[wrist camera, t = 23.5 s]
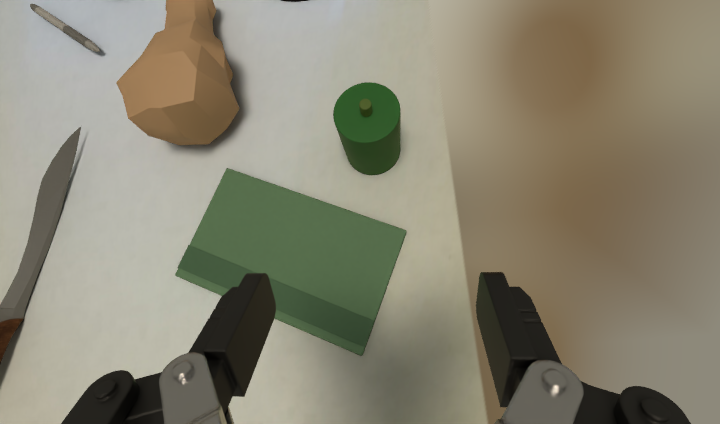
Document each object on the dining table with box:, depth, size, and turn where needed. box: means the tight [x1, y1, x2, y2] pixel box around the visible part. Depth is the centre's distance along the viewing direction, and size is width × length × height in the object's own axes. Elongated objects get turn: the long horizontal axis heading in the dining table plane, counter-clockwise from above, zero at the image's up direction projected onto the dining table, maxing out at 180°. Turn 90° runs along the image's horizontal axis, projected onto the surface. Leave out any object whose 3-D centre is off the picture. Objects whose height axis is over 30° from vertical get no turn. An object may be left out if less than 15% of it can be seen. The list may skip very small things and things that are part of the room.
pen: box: [30, 4, 100, 52], centre depth 44 cm, size 1×14×1 cm, turn 55°
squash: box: [116, 0, 239, 145], centre depth 37 cm, size 11×20×9 cm, turn 11°
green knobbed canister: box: [333, 83, 400, 175], centre depth 32 cm, size 6×6×9 cm
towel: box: [175, 168, 406, 356], centre depth 34 cm, size 20×12×1 cm, turn 69°
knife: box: [0, 127, 81, 363], centre depth 35 cm, size 4×1×30 cm
